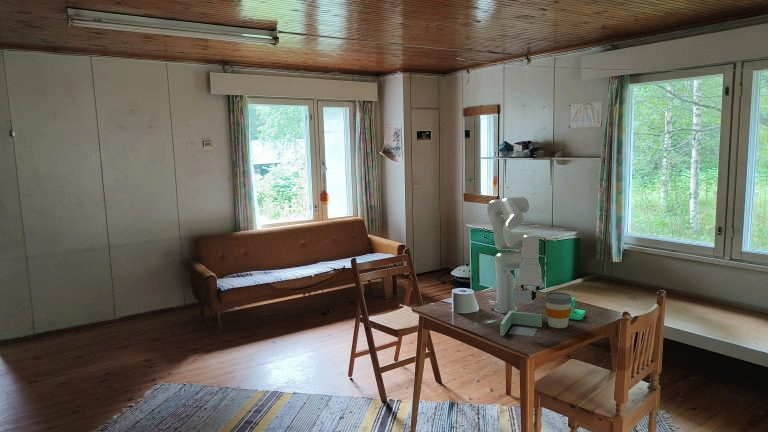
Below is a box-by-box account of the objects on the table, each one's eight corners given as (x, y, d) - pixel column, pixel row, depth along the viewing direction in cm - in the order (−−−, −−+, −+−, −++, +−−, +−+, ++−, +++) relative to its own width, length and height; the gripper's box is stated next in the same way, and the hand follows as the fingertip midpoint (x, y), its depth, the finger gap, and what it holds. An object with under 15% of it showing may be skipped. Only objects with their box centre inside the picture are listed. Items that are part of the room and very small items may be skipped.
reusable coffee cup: (577, 327, 256) (577, 297, 254) (554, 330, 252) (554, 300, 250) (561, 319, 268) (561, 290, 266) (539, 322, 264) (539, 293, 262)
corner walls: (500, 335, 248) (500, 323, 247) (509, 322, 266) (509, 310, 265) (534, 340, 241) (534, 327, 241) (541, 326, 259) (541, 314, 259)
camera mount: (579, 322, 264) (580, 302, 263) (564, 319, 268) (564, 300, 267) (585, 315, 274) (585, 296, 273) (570, 313, 278) (570, 294, 277)
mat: (508, 333, 250) (508, 333, 250) (513, 326, 260) (513, 325, 260) (533, 337, 245) (533, 336, 245) (537, 329, 255) (537, 328, 255)
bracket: (531, 304, 246) (531, 291, 245) (512, 302, 250) (512, 289, 249) (534, 299, 253) (534, 287, 253) (516, 298, 257) (516, 286, 256)
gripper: (511, 261, 248) (511, 299, 250) (547, 263, 241) (546, 302, 243) (514, 258, 255) (514, 295, 257) (549, 260, 248) (549, 298, 250)
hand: (530, 298), depth 250 cm, fingers closed on bracket, 2 cm apart
